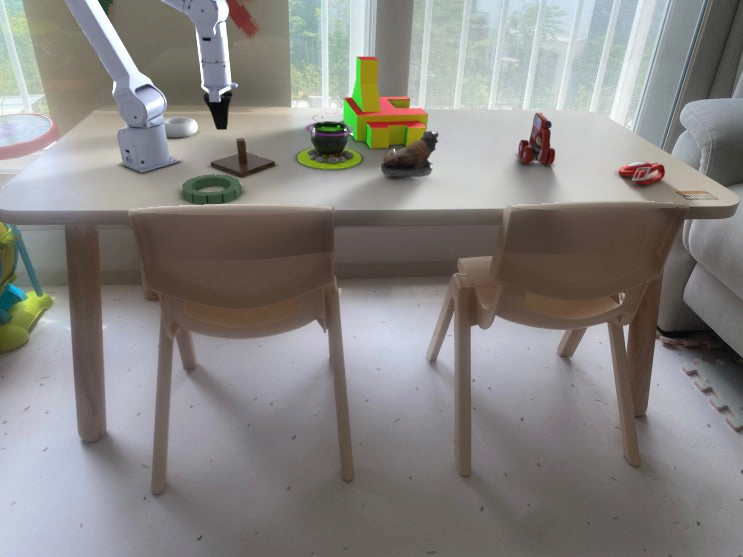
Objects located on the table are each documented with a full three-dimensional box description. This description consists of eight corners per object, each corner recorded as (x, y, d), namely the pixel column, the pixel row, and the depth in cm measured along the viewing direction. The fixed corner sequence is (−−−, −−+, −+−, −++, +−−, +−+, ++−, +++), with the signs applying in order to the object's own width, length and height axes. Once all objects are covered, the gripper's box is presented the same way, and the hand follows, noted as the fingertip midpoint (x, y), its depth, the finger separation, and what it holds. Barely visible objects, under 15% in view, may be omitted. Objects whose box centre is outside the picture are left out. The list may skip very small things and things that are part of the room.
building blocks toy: (361, 148, 132) (363, 71, 123) (343, 120, 153) (344, 53, 143) (432, 146, 136) (440, 71, 127) (405, 119, 157) (410, 53, 147)
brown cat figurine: (380, 180, 115) (382, 134, 110) (380, 168, 121) (382, 124, 116) (435, 182, 115) (440, 136, 110) (432, 171, 121) (437, 127, 116)
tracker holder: (609, 165, 126) (651, 155, 125) (611, 183, 127) (652, 173, 127) (636, 171, 114) (682, 161, 114) (637, 191, 116) (682, 181, 115)
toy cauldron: (372, 156, 128) (374, 109, 122) (338, 174, 117) (338, 124, 111) (321, 144, 134) (321, 99, 128) (284, 160, 123) (282, 112, 117)
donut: (189, 141, 133) (204, 129, 141) (187, 127, 131) (202, 116, 139) (151, 138, 133) (168, 126, 142) (148, 124, 132) (165, 113, 140)
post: (241, 177, 113) (238, 150, 110) (210, 166, 118) (207, 139, 115) (275, 165, 120) (273, 139, 117) (244, 155, 125) (242, 130, 122)
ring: (250, 197, 105) (249, 188, 104) (194, 209, 99) (193, 200, 98) (228, 178, 112) (227, 170, 111) (175, 188, 107) (173, 180, 106)
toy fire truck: (525, 168, 125) (534, 124, 119) (515, 151, 135) (523, 110, 130) (555, 170, 125) (565, 125, 119) (543, 152, 135) (552, 111, 130)
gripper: (232, 67, 100) (239, 139, 107) (237, 54, 112) (242, 119, 119) (194, 67, 99) (203, 139, 106) (202, 54, 111) (210, 119, 118)
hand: (221, 128), depth 112 cm, fingers closed
